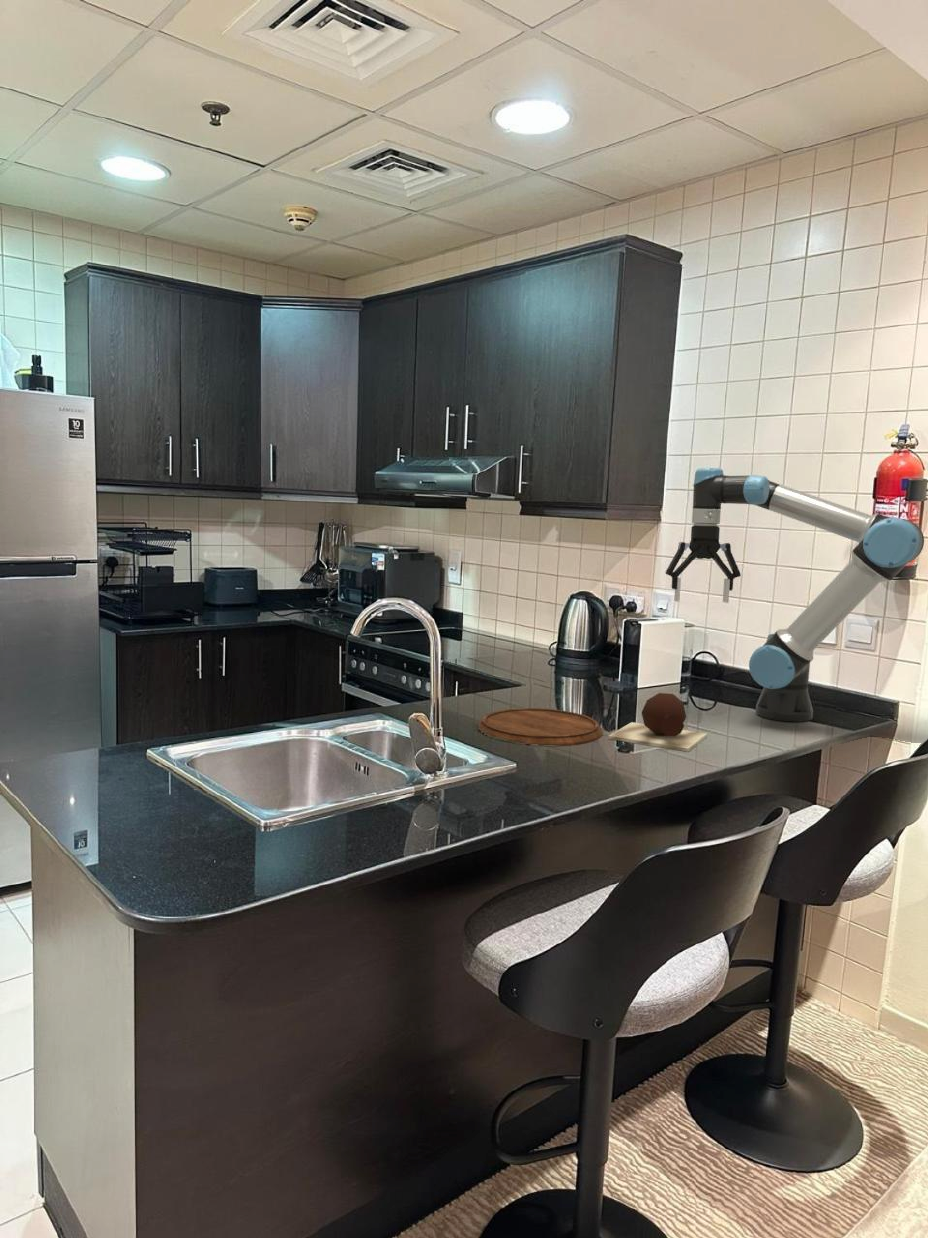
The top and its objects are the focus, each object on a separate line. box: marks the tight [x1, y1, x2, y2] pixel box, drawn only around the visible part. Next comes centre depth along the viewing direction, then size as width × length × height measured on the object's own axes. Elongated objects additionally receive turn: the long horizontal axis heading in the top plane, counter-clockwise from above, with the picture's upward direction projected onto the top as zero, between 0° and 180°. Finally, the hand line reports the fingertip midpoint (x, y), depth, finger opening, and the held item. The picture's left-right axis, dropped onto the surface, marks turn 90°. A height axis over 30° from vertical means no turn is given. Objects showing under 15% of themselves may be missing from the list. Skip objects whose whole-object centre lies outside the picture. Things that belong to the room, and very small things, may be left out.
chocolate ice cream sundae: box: [641, 692, 687, 737], centre depth 215 cm, size 11×11×15 cm
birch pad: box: [607, 721, 708, 752], centre depth 217 cm, size 20×17×1 cm
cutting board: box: [477, 707, 604, 747], centre depth 223 cm, size 32×32×2 cm
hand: (701, 601), depth 242 cm, fingers open, 13 cm apart
